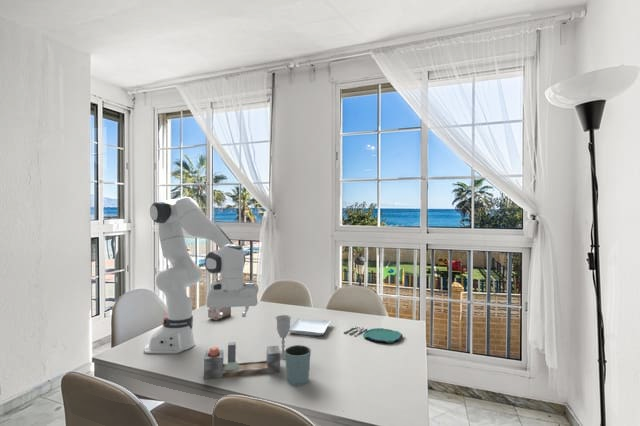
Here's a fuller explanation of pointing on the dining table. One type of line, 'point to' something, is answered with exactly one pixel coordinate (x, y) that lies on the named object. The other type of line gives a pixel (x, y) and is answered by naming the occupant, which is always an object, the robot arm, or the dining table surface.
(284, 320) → the chalice
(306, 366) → the blue-grey cup
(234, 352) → the carriage
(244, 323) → the dining table surface
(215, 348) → the button
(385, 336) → the cutlery set
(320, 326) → the salad plate
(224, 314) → the food item
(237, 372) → the rail
